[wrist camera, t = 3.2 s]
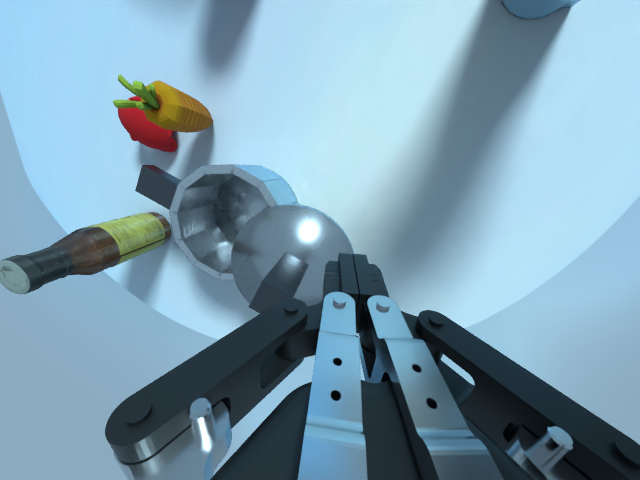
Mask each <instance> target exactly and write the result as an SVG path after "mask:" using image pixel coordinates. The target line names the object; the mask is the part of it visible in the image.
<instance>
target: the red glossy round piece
mask: <svg viewBox="0 0 640 480" xmlns="http://www.w3.org/2000/svg"><path fill="white" fill-rule="evenodd" d="M128 100H130V101H139V102H140V101H141V97H138V96H135V97H132V98H129V99H128ZM118 116H119V119H120V121H121V123H122V125H123V126H124V128H125V129H126V130H127V131H128V133H129V134H130V137H131V139H132V140H133V141H139V142H140V143H142V144H144V145H146V146H148V147H150V148H154V149H159V150H162V151H165V152H174V151H176V149H177V143H176V141H175V140H174V139H173V138H172V137H171V136H172V134H173V132H174V131H173V130H167V129H164V128H162V127H160V126H158V125H156V124H154V123H152V122H150V121H149V120H147V117H146V115H145V113H144V111H143V110H140V109H138V108H118Z"/></svg>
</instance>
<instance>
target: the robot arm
mask: <svg viewBox="0 0 640 480" xmlns="http://www.w3.org/2000/svg"><path fill="white" fill-rule="evenodd" d="M579 1H580V0H502V2H503V4H504V5H505V6H506V8H507V9H508V10H509V11H510V12H511V13H513V14H514V15H516V16H519V17H522V18H529V19H533V18H540V17H543V16H546V15H548V14H551V13H552V12H554V11H556V10H557V9H559V8H561V7H565V6H567V7H572V6H573V5H575V4H576V3H577V2H579ZM356 333H359V336H360V339H359V337H358V336H356ZM443 354H444V355H446V356H447V357H448V358H449V359H451V360H452V361H453V362H455V363H456V364H457V365H459V366H460V367H461V368H462V369H464V370H465V371H466V372H468V373H469V374H470V375H471V377H472V378H473V380H474V382H475V386H474V385H472V384H470V383H469V382H467V381H466V380H465V379H464V378H463V377H461V376H460V375H459V374H458V373H456V372H455V371H454V370H452V369H451V368H450V367H449V366H447V365H446V364H445V363H444V362H442V361H441V357H442V355H443ZM313 355H316V357H315V364H314V371H313V378H312V382H310V383H307V384H305V385H302V386H300V387H299V388H297V389H296V390H294V391H292V392H291V393H290V394H289V395H287V396H286V397H285V398H284V400H283V401H282V402H281V403H280V404H279V405H278V406H277V407H276V408H275V409H274V410H273V411H272V413H271V414H270V415H269V416H268V417H267V418H266V419H265V420H264V421H263V422H262V424H261V425H260V426H259V427H258V428H257V429H256V430H255V431H254V432H253V433H252V434H251V436H250V437H249V438H248V439H247V440H246V441H245V442H244V443H243V444H242V445H241V446H240V448H239V449H238V450H237V451H236V452H235V453H234V454H233V455H232V456H231V457H230V458H229V459H228V461H227V462H226V463H225V464H224V465H223V466H222V467H221V468H220V469H219V470H218V471H217V472H216V474H215V475H214V476H213V473H214V471H215V469H216V467H217V466H218V464H219V463H220V462H221V461H222V459H223V458H224V456H225V455H226V454H227V452H228V450H229V448H230V445H231V440H232V432H231V429H232V428H233V427H234V426H235V425H236V424H237V423H238V422H239V421H240V420H241V419H242V418H243V417H244V416H245V415H246V414H248V413H249V412H250V411H251V410H252V409H253V408H254V407H255V406H256V405H257V404H258V403H259V402H260V401H261V400H262V399H263V398H265V396H267V395H268V394H269V393H270V392H271V391H272V390H273V389H274V388H275V387H276V386H277V385H278V384H279V383H280V382H282V381H283V380H284V379H285V378H286V377H287V376H288V375H289V374H290V373H291V372H292V371H293V370H294V369H295V368H296V367H297V366H299V365H300V364H301V362H302V361H303V359H304V357H308V356H313ZM360 358H361V363H362V368H363V372H364V377H365V381H363V380H361V377H360ZM105 435H106V438H107V440H108V442H109V444H110V445H111V447H112V449H113V451H114V456H115V459H116V460H117V462H118V463H119V465H120V467H121V469H122V470H123V472H124V474H125V475H126V477H127V479H128V480H640V445H639V444H638V443H636V442H635V441H634V440H632V439H631V438H629V437H628V436H626V435H625V434H623V433H622V432H620V431H618V430H617V429H616V428H614V427H613V426H611V425H609V424H608V423H606V422H605V421H603V420H602V419H600V418H599V417H597V416H595V415H594V414H593V413H591V412H590V411H588V410H587V409H585V408H584V407H582V406H581V405H579V404H577V403H576V402H575V401H573V400H572V399H570V398H569V397H567V396H565V395H564V394H562V393H561V392H559V391H558V390H556V389H555V388H553V387H552V386H550V385H549V384H547V383H546V382H544V381H543V380H541V379H540V378H538V377H537V376H535V375H534V374H532V373H531V372H529V371H528V370H526V369H525V368H523V367H521V366H520V365H518V364H517V363H515V362H514V361H512V360H511V359H509V358H508V357H506V356H505V355H503V354H501V353H500V352H499V351H497V350H496V349H494V348H493V347H491V346H490V345H488V344H487V343H485V342H484V341H482V340H481V339H479V338H477V337H476V336H474V335H473V334H471V333H470V332H468V331H467V330H465V329H464V328H462V327H461V326H459V325H458V324H456V323H455V322H453V321H452V320H450V319H449V318H447V317H446V316H444V315H442V314H441V313H438V312H436V311H431V310H425V311H422V312H420V314H419V316H418V317H417V316H414V315H410V314H407V313H405V312H402V311H400V309H399V307H398V305H397V303H396V302H395V301H393V300H392V299H390V298H389V295H388V292H387V289H386V286H385V283H384V280H383V277H382V274H381V271H380V269H379V268H378V267H377V266H376V265H375V264H368V261H367V257H366V255H361V254H349V253H339V255H338V261H329V262H328V263H327V264H326V265H325V274H324V283H323V300H322V301H321V302H320V303H318V304H315V305H312V306H307V305H306V304H305V303H304V302H303V301H301V300H299V299H294V298H289V299H284V300H282V301H280V302H278V303H277V304H275V305H274V306H272V307H270V308H269V309H267V310H266V311H264V312H263V313H261V314H259V315H258V316H256V317H255V318H253V319H252V320H250V321H248V322H247V323H245V324H244V325H242V326H240V327H239V328H237V329H236V330H234V331H233V332H231V333H229V334H228V335H226V336H225V337H223V338H221V339H220V340H218V341H217V342H215V343H214V344H212V345H210V346H209V347H207V348H206V349H204V350H202V351H201V352H199V353H198V354H196V355H195V356H193V357H191V358H190V359H188V360H187V361H185V362H183V363H182V364H181V365H179V366H177V367H176V368H174V369H173V370H171V371H169V372H168V373H166V374H164V375H163V376H161V377H160V378H158V379H157V380H155V381H153V382H152V383H150V384H149V385H147V386H146V387H144V388H142V389H141V390H139V391H138V392H136V393H135V394H133V395H131V396H130V397H128V398H127V399H125V400H124V401H123V402H122V403H121V404H120V405H119V406H118V407H117V408H116V409H115V410H114V411H113V413H112V414H111V416H110V418H109V419H108V422H107V424H106V428H105ZM212 476H213V477H212Z"/></svg>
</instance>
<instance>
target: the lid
mask: <svg viewBox="0 0 640 480" xmlns="http://www.w3.org/2000/svg"><path fill="white" fill-rule="evenodd" d="M339 253H349V254H354V251H353V248H352V245H351V243H350V241H349V239H348V237H347V235H346V234H345V232H344V231H343V229H342V228H341V227H340V226H339V225H338V224H337V223H336V222H335V221H334V220H333V219H331V218H330V217H329V216H327V215H326V214H324V213H323V212H321V211H319V210H316V209H314V208H311V207H308V206H304V205H299V204H284V205H278V206H273V207H271V208H268V209H266V210H263V211H261V212H260V213H258V214H256V215H254V216H253V217H252V218H250V219H249V220H248V221H247V222H246V223H245V224H244V225H243V227H242V228H241V229H240V231H239V232H238V234H237V236H236V238H235V241H234V244H233V247H232V252H231V267H232V272H233V276H234V279H235V282H236V284H237V286H238V289H239V290H240V292H241V293H242V295H243V296H244V298H245V299H246V300H247V301H248V302H249V303H250V305H249V307H250V308H251V309H253V310H255V311H257V312H259V313H263V312H264V311H266V310H267V309H269V308H270V307H272V306H274V305H275V304H277V303H278V302H280V301H282V300H284V299H289V298H294V299H299V300H301V301H303V302H304V303H305V304H306V305H307V306H312V305H315V304H318V303H320V302H321V301H322V300H323V283H324V274H325V265H326V264H327V263H328V262H329V261H338V255H339Z"/></svg>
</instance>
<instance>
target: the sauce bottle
mask: <svg viewBox="0 0 640 480" xmlns="http://www.w3.org/2000/svg"><path fill="white" fill-rule="evenodd" d="M170 235H171V230H170V225H169V223H168V221H167V220H166V219H165V218H164V217H163V216H162V215H160V214H158V213H155V212H150V213H140V214H136V215H132V216H128V217H124V218H120V219H115V220H112V221H109V222H104V223H100V224H97V225H92V226H88V227H85V228H81V229H78V230H75V231H74V232H72V233H71V234H69V235H67V236H66V237H64V238H63V239H61V240H59V241H58V242H56V243H55V244H53V245H51V246H50V247H48V248H45V249H43V250H40V251H37V252H33V253H30V254H27V255H16V256H12V257H9V258H7V259H3V260H1V261H0V282H1V283H2V284H3V286H5V288H6V289H8V290H9V291H11V292H13V293H16V294H26V293H28V292H31V291H34V290H36V289H39V288H40V287H41V286H43V285H44V284H46V283H49V282H51V281H54V280H56V279H59V278H64V277H66V276H67V275H77V274H79V275H92V274H95V273H98V272H100V271H102V270H104V269H107V268H109V267H113V266H116V265H118V264H120V263H122V262H125V261H127V260H129V259H131V258H134V257H136V256H138V255H141V254H143V253H145V252H147V251H150V250H152V249H154V248H156V247H159V246H160V245H162V244H164V243H165V242H166V241H167V240H168V239H169V237H170Z"/></svg>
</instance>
